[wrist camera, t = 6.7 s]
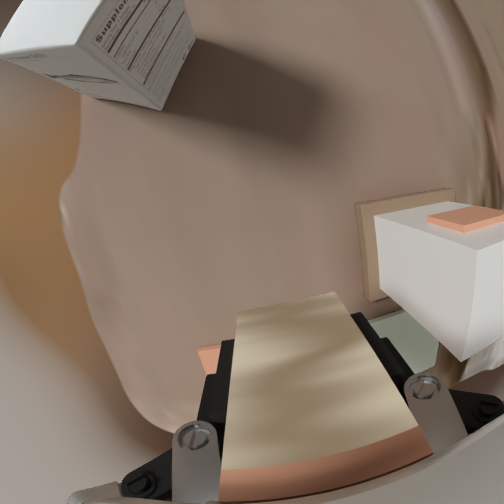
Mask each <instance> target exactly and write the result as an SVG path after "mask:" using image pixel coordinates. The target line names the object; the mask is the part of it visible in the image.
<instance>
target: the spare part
mask: <svg viewBox="0 0 504 504" xmlns="http://www.w3.org/2000/svg"><path fill="white" fill-rule="evenodd" d="M432 454H433V450H432V449H431V447H430V445H429V443H428V441H427V439H426V438H425V436H424V434H423V432H422V430H421V429H420V427H419V425H418V423H417V422H416V420H415V418H414V416H413V415H412V413H411V411H410V410H409V408H408V406H407V404H406V403H405V401H404V399H403V398H402V396H401V394H400V393H399V391H398V389H397V388H396V386H395V384H394V383H393V381H392V379H391V378H390V376H389V375H388V373H387V371H386V370H385V368H384V367H383V365H382V363H381V362H380V360H379V359H378V357H377V355H376V354H375V352H374V351H373V349H372V348H371V346H370V345H369V343H368V341H367V340H366V338H365V337H364V335H363V334H362V332H361V331H360V329H359V328H358V326H357V325H356V323H355V322H354V320H353V319H352V317H351V316H350V314H349V313H348V311H347V310H346V308H345V307H344V305H343V304H342V302H341V301H340V299H339V298H338V296H337V295H336V293H335V292H331V293H327V294H323V295H318V296H314V297H309V298H305V299H300V300H296V301H291V302H286V303H281V304H276V305H272V306H266V307H261V308H256V309H251V310H246V311H240V312H238V315H237V324H236V333H235V342H234V351H233V360H232V369H231V379H230V388H229V397H228V407H227V416H226V426H225V436H224V445H223V455H222V465H221V475H220V485H219V496H218V502H219V503H220V504H245V503H261V502H271V501H280V500H288V499H295V498H301V497H307V496H312V495H317V494H322V493H327V492H331V491H335V490H339V489H343V488H347V487H351V486H354V485H358V484H361V483H364V482H368V481H371V480H374V479H377V478H379V477H382V476H385V475H388V474H391V473H393V472H396V471H398V470H401V469H403V468H406V467H408V466H410V465H413V464H415V463H417V462H419V461H422V460H424V459H426V458H428V457H430V456H432Z"/></svg>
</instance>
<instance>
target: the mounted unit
mask: <svg viewBox="0 0 504 504" xmlns="http://www.w3.org/2000/svg"><path fill="white" fill-rule="evenodd" d="M355 210H356V217H357V224H358V232H359V240H360V249H361V259H362V270H363V283H364V297H365V298H366V299H367V300H368V301H369V302H372V301H375V300H379V299H382V298H385V297H391V298H392V299H393V300H394V301H395V302H396V303H397V304H399V305H400V306H401V307H402V308H403V309H404V310H405V311H407V312H408V313H409V314H410V315H411V316H412V317H413V318H414V319H415V320H417V321H418V322H419V323H420V324H421V325H422V326H423V327H424V328H425V329H426V330H428V331H429V332H430V333H431V334H432V335H433V336H434V337H435V338H436V339H437V340H438V341H439V342H440V343H442V344H443V345H444V346H445V347H446V348H447V349H448V350H449V351H450V352H451V353H452V354H453V355H454V356H455V357H456V358H457V359H458V360H459V361H460V362H462V361H464V360H466V359H468V358H469V357H471V356H473V355H474V354H476V353H478V352H479V351H481V350H483V349H484V348H486V347H487V346H489V345H491V344H492V343H494V342H495V341H497V340H498V339H500V338H501V337H502V336H504V211H501V210H496V209H491V208H486V207H481V206H476V205H474V206H472V205H467V204H461V203H455V194H454V189H451V188H443V189H437V190H430V191H424V192H418V193H412V194H406V195H400V196H394V197H389V198H383V199H377V200H372V201H366V202H361V203H356V204H355Z"/></svg>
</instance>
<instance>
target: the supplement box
mask: <svg viewBox="0 0 504 504" xmlns="http://www.w3.org/2000/svg"><path fill="white" fill-rule="evenodd" d="M195 39H196V37H195V34H194V31H193V28H192V25H191V21H190V18H189V16H188V13H187V10H186V7H185V4H184V1H183V0H23V2H22V3H21V5H20V6H19V8H18V9H17V11H16V12H15V14H14V16H13V17H12V19H11V20H10V22H9V24H8V26H7V27H6V29H5V31H4V32H3V34H2V36H1V38H0V58H2V59H5V60H7V61H10V62H12V63H15V64H18V65H20V66H23V67H25V68H27V69H30V70H32V71H35V72H37V73H39V74H42V75H44V76H46V77H48V78H50V79H53V80H55V81H57V82H59V83H61V84H64V85H66V86H68V87H70V88H72V89H74V90H76V91H78V92H81V93H83V94H85V95H87V96H89V97H91V98H98V99H108V100H115V101H120V102H126V103H131V104H135V105H140V106H144V107H148V108H152V109H155V110H159V111H161V110H162V109H163V106H164V104H165V102H166V100H167V97H168V95H169V93H170V90H171V88H172V86H173V84H174V82H175V79H176V77H177V75H178V73H179V71H180V69H181V67H182V65H183V63H184V61H185V59H186V57H187V55H188V53H189V51H190V49H191V47H192V45H193V44H194V42H195Z"/></svg>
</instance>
